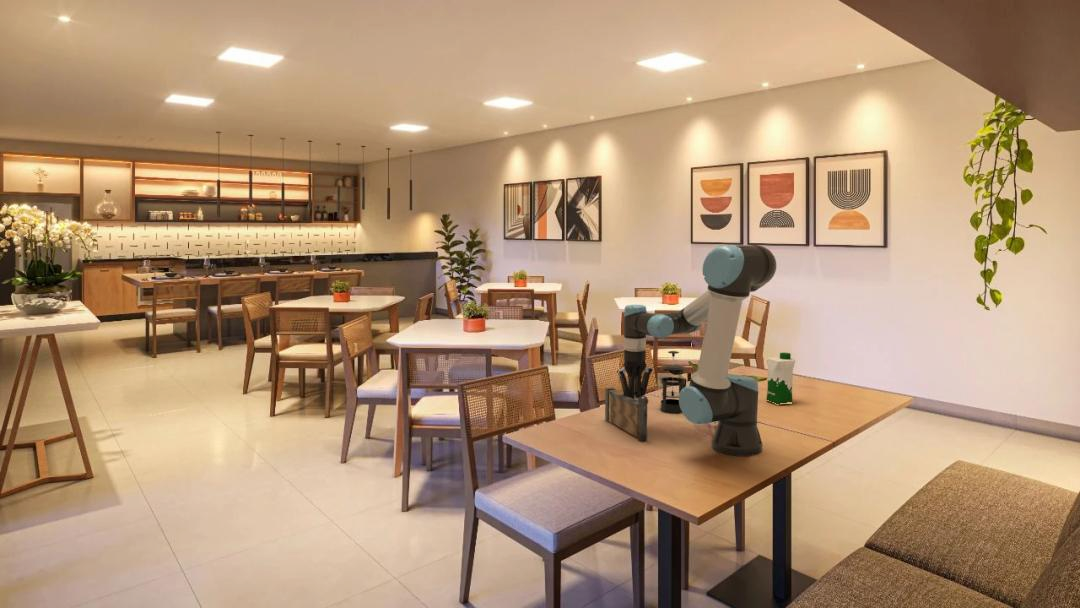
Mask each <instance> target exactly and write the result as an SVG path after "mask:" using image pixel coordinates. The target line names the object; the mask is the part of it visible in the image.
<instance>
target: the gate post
mask: <svg viewBox="0 0 1080 608" xmlns="http://www.w3.org/2000/svg"><path fill="white" fill-rule="evenodd" d="M638 404H639V422H638V437H637V440H638V442H641V443H645V442H648V404H649V398H648V397H647V396H646V395H644V396H640V397H639V398H638Z"/></svg>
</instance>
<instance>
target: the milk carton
mask: <svg viewBox="0 0 1080 608" xmlns="http://www.w3.org/2000/svg"><path fill="white" fill-rule="evenodd" d="M791 357H792V355H791V353H790V352H780V353H779V356H772V357H766V363H767V393H766V400H769V401H771V402H774V403H776V404H780V403H787V402H792V403H793V375H794V374H793V373H794V367H795V364H796V359H792V358H791ZM766 400H765V401H766Z"/></svg>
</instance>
